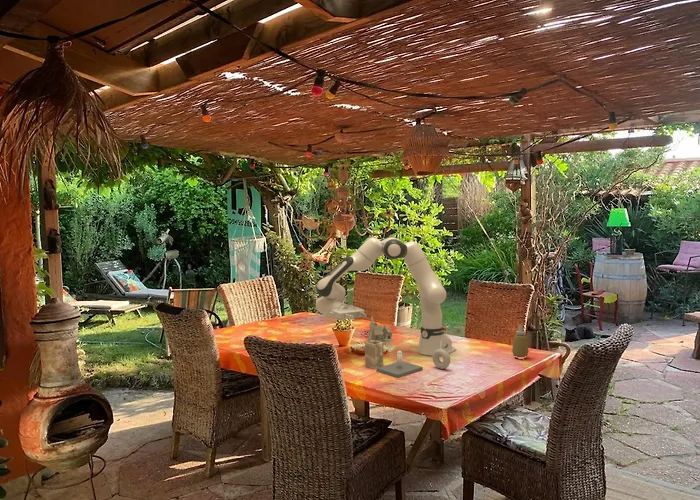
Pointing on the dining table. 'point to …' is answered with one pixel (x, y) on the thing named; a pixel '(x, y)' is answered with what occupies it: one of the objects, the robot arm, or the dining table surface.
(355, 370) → the dining table surface
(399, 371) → the post board
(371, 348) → the sleeve
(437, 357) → the donut
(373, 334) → the ceramic cottage
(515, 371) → the dining table surface
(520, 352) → the squeeze bottle
